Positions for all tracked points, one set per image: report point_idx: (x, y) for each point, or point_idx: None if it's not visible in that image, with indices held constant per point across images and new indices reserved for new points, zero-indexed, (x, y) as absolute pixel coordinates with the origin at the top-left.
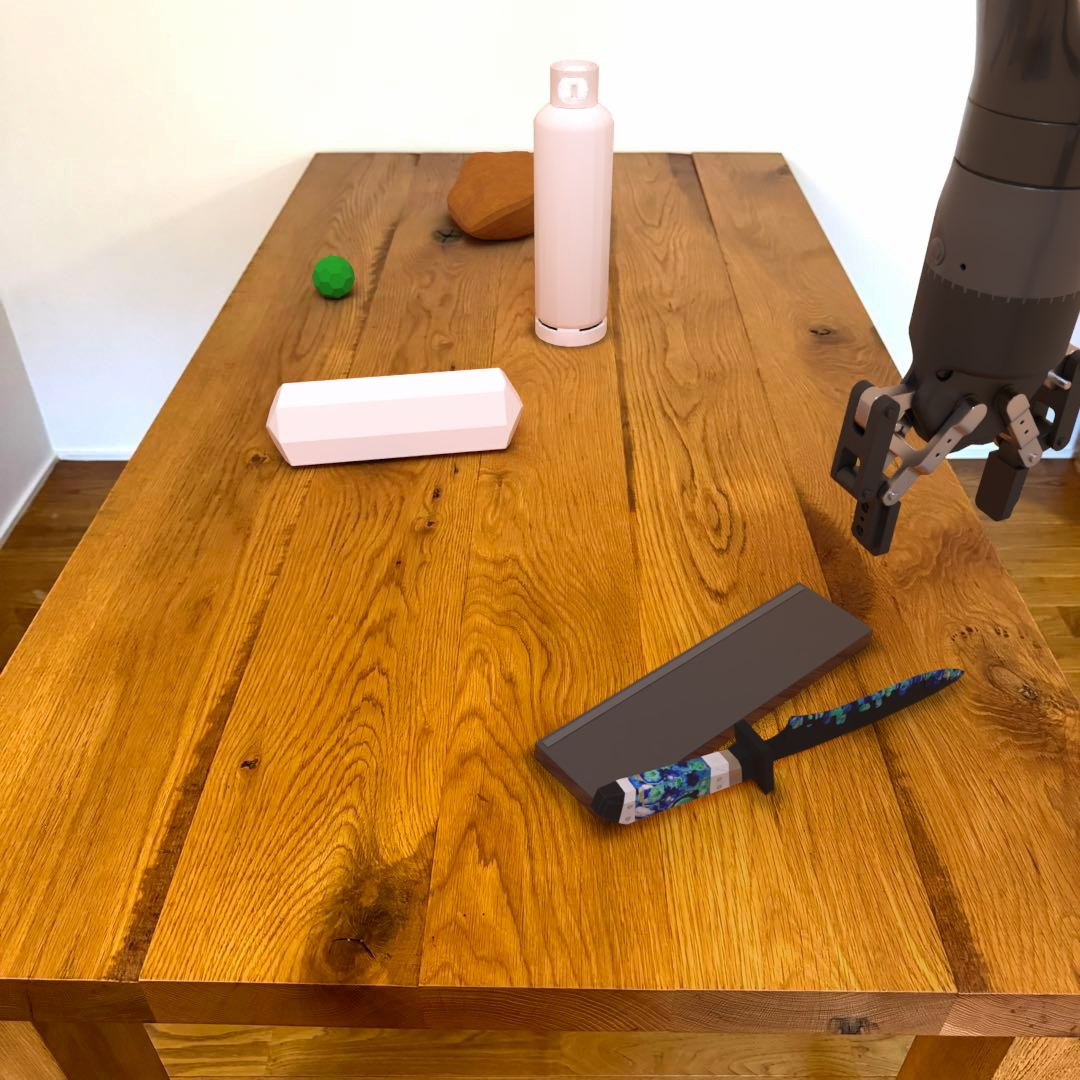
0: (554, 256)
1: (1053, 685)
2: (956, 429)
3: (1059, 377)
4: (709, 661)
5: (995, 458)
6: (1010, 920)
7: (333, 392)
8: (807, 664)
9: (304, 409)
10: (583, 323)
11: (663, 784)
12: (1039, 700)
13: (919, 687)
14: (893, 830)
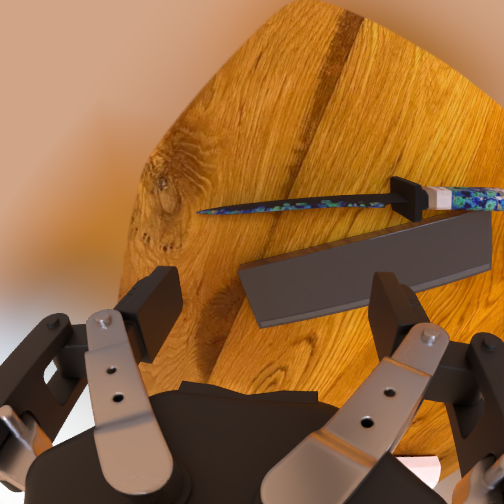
0: None
1: (142, 183)
2: (358, 452)
3: (14, 433)
4: (369, 289)
5: (149, 349)
6: (303, 33)
7: None
8: (307, 260)
9: (428, 480)
10: None
11: (487, 195)
12: (159, 175)
13: (242, 208)
14: (333, 114)
